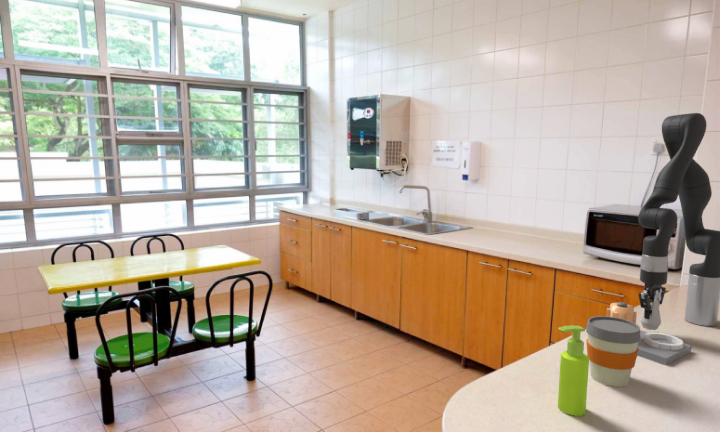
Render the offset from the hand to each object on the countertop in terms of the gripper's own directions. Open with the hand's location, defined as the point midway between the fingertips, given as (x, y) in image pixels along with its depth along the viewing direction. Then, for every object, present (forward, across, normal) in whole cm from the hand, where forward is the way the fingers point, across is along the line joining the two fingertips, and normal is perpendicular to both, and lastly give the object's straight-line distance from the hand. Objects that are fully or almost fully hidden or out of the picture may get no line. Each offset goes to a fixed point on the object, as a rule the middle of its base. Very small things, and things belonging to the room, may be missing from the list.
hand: (650, 318), depth 151 cm
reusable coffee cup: (+5, +42, +9) cm, 44 cm away
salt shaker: (+3, 0, 0) cm, 3 cm away
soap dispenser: (+4, +65, +12) cm, 67 cm away
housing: (+5, +14, +4) cm, 15 cm away
